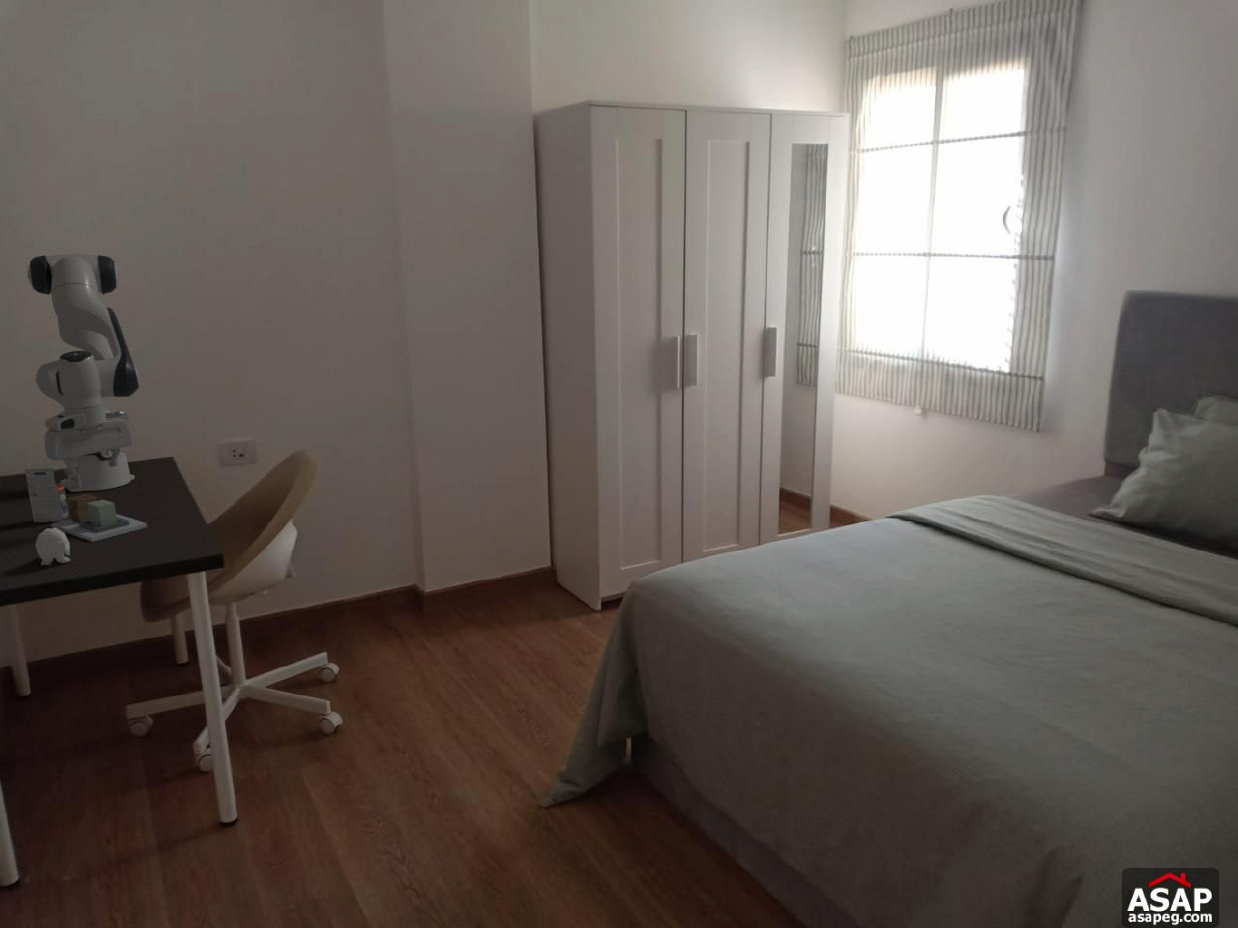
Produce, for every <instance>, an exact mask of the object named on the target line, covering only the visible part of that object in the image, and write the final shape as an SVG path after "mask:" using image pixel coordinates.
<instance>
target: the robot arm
mask: <svg viewBox="0 0 1238 928" xmlns="http://www.w3.org/2000/svg"><path fill="white" fill-rule="evenodd" d="M27 278H28V282H29V283H30V286H32V289H33V290H34V291H35V292H37V293H39V294H42V295H49V296H50V295H51V302H52V306H53V311H54V312H55V315H56V316H57V323H58V332H59V337H60V338H61V340H62V341H63V342H64V343H65V344H67V345H68V346H71V347H74V348H77V349H80V350H74V351H68V352H65V353H63V354H61V355H59V358H58V359H57V360H55V361H50V362H47V363H44V364H41V365H40V366H39V368H38V370H37V371H36V375H35V382H36V385H37V388H38V389H39V391H40V392H41V393H42V394H43V395H44V396H46V397H47V398H50V399H52V400H54V401H56V403H58V404H60V406H62V408H63V409H64V411H62V412H59V413H58V414H56V415H54V416H52V417H50V418H47V419H46V420H45V421H44V426H45V428H46V429H47V431H46V432H44V451H45V455H46V457H47V458H48V459H49V460H51V461H54V462H55V461H56V462H57V461H62V460H63V463H65V465H66V467H64V469H63V473H64V475H65V476H67V478H64V479H62V480H60V482H59V483H63V484H64V489H66V490H68V491H69V492H71V493H77V492H78V493H79V492H89V491H90V492H91V491H92V492H93V491H103V490H110V489H114V488H118V487H122V486H125V485H127V484H129V483H130V482H131V481H132V480H134V479H136V478H135V475H134V474H131V473H130V469H129V468H130V467H129V465H128V459H127V456H126V454H125V453H124V452H122V451H121V449H122V448H127V447H131V446H132V444H133V443H134V438H133V434H132V431H131V427H130V419H129V415H128V414H127V413H126V412H123V411H122V410H121V411H116V412H112V411H111V410H110V409H108V408H107V407H105V402H104V399H103V398H113V397H115V398H130V397H131V396H132V395H134V394H135V393H136V392H137V390H138V389H139V388H140V385H141V384H140V383H141V379H140V373H139V370H138V368H137V366H136V364H135V363H134V361H133V359H132V356H131V352H130V351H129V347H128V344H127V341H126V339H125V336H124V333H123V331H122V330H123V329H122V326H121V325H120V322H119V320H118V317H117V315H116V313H115V312H114V310H113V309H112V308H110V307H108V306H106V305H105V304H104V303H103V302H102V301H101V299H100V294H101V295H102V296H104V295H105V294H109V293H112V292H114V291H115V290H116V289H117V286H118V285H119V284H118V283H119V280H120V272H119V269H118V267H117V265H116V263H115V261H114V259H112V258H111V257H110V256H106V255H101V254H100V255H92V254H91V255H90V254H82V253H81V254H79V253H78V254H77V253H72V254H59V255H48V256H47V255H44V254H43V255H39V256H35V257H33V258H32V259H31V260H30V262H29V264H28V267H27ZM107 341H108V342H107Z"/></svg>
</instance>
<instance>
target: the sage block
mask: <svg viewBox="0 0 1238 928" xmlns="http://www.w3.org/2000/svg"><path fill="white" fill-rule="evenodd" d="M87 505H88V511H89V517H90V523H91V525H94V526H97V527H102V526H106V525H110V524H114V523H117V517H116V514H117V512H116V506H115V502H112V501H109V500H106V499H100V500H97V501H95V502H91V503H87Z"/></svg>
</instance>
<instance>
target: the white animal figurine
mask: <svg viewBox="0 0 1238 928" xmlns="http://www.w3.org/2000/svg"><path fill="white" fill-rule="evenodd" d="M35 541H36V542H35V546H34V547H36V552H37V554H38V555H39V558H40V559H41V560H42V561H41V563H40V565H41V566H42V565H46V566H49V565H50V564H51V563H52V562H54V559H55V560H56V561H57V562H58V563H61V564H67V563H66V562H68V563H70V562H71V559H70V558H69V557H67V556H70V555H71V554H70V549H71V546H70V542H69V539H68V537H67V536H66V532H63V531H60V530H59V529H57V528H52V527H51V528H49V527H47V528H45V529H44V530H43V531H41V532H40V533H39V534H38V536H37V538H36V540H35ZM65 555H66V556H65ZM69 561H70V562H69Z"/></svg>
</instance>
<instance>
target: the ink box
mask: <svg viewBox="0 0 1238 928" xmlns="http://www.w3.org/2000/svg"><path fill="white" fill-rule="evenodd" d="M39 472H41V473H45V474H35V473H39ZM25 477H26V484H27V491H28V496H29V502H30V506H31V511H32V512H31V513H32V518H33V522H34V523H57V522H61V521H65V520H69V519H71V518H70V517H71V516H70V510H69V508H68V507H69V505H68V501H67V500H68V499H67V496H66V495H67V494H66V488H65V487H64V484H63V483H60V482H59V483H57V482H56V477H55V470H54V468H39V469H32V468H31V469H25Z"/></svg>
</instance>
